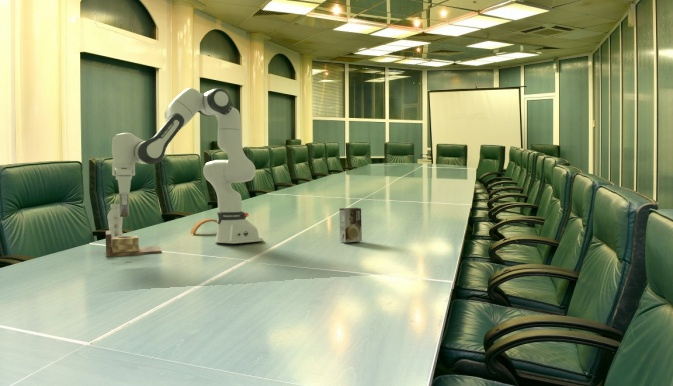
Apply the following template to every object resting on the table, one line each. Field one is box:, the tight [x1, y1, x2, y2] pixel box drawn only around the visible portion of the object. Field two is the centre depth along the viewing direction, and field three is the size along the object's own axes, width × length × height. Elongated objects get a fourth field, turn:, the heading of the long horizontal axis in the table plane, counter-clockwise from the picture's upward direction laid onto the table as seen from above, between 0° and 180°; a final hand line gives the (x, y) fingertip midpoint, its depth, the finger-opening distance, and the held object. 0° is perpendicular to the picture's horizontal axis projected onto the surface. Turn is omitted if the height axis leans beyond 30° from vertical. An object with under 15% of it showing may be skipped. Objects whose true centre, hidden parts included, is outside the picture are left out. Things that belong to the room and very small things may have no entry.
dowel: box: [118, 191, 130, 218], centre depth 206 cm, size 4×4×12 cm
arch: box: [190, 218, 218, 236], centre depth 259 cm, size 6×20×10 cm, turn 120°
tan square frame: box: [112, 235, 140, 253], centre depth 207 cm, size 10×10×6 cm
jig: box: [105, 230, 162, 258], centre depth 208 cm, size 21×16×9 cm
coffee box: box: [339, 207, 363, 244], centre depth 238 cm, size 9×6×16 cm
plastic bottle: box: [106, 203, 124, 239], centre depth 222 cm, size 6×7×20 cm
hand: (124, 204), depth 206 cm, fingers closed on dowel, 4 cm apart
